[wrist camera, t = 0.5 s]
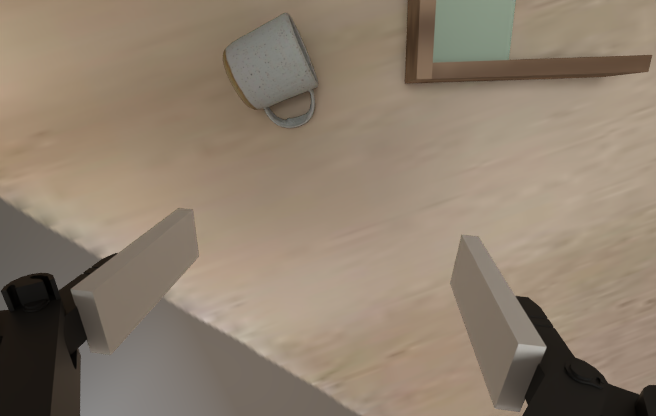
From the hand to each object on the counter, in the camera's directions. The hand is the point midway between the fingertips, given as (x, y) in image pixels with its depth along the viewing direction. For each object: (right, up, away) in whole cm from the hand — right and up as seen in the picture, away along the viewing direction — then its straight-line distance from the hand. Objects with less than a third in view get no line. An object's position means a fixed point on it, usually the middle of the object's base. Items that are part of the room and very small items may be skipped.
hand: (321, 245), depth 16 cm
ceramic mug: (-5, +17, +23) cm, 29 cm away
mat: (+16, +23, +21) cm, 35 cm away
